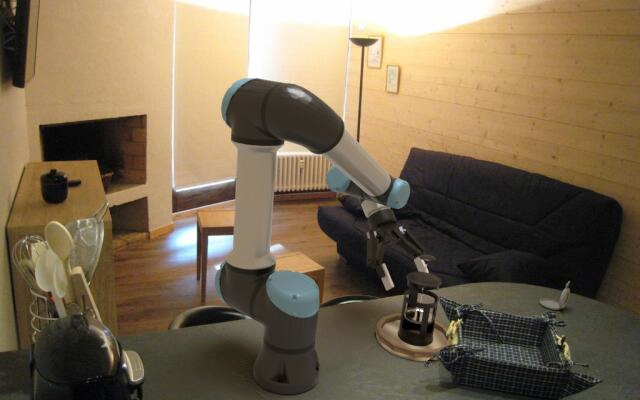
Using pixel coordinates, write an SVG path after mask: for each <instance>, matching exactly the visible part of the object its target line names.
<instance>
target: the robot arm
mask: <svg viewBox="0 0 640 400" xmlns="http://www.w3.org/2000/svg"><path fill="white" fill-rule="evenodd" d="M220 105H221V106H220V112H221V118H222V120H223V121H224V122H225V125H226V126H227V127H229V129H230V130H231V131H230V142H231V143H232V144H233V146H235V148H236V149H237V152H236V153H237V155H236V175H235V177H236V179H235V195H234V196H235V197H234V220H233V239H232V249H231V251H230V252H229V253H227V254H226V256H225V260H223V261H222V262H221V264H220V265H219V267H220V268H219V269H217V270H216V273H215V276H214V289H215V292H216V295H217V297H218V298H219V299H220V300H221V301H222V302H223V303H224V304H225V305H226V306H228V307H230V309H232V310H234V311H237V312H240V313H241V314H243V315H245V316H247V317H248V318H249V319H252V320H254V321H255V322H258V324H260V325H261V324H262V326H263V339H262V340H263V341H262V344H261V346H260V348H259V351H258V354H257V356H256V358H255V359H254V362H253V378H254V380H255V382H256V383H257V384H258V385H259V386H261V387H262V388H263V389H265V390H267V391H270V392H272V393H276V394H280V395H296V394H301V393H305V392H308V391H309V390H311V389H313V388H314V387H315V386H316V385H317V384H318V383H319V380H320V375H321V365H320V364H321V363H320V361H319V358H318V352H317V350H316V346H315V345H316V335H317V326H318V320H319V319H318V316H319V308H320V289H319V286H318V283H316V281H315V280H314V279H312V277H310V276H308V275H307V274H305V273H303V272H299V271H292V270H291V269H290V270H289V269H282V270H276V266H277V257H276V256H275V255H274V254H273V253H272V252H271V245H272V243H271V242H272V241H271V240H272V230H273V229H272V227H273V213H274V212H273V211H274V197H275V186H276V185H275V184H276V183H275V182H276V171H277V170H276V169H277V167H276V166H277V157H278V156H277V154H278V153H277V152H278V151H279V150H280V149H281V148H282V147H284V146H285V142H289V143H292V144H295V145H299V146H301V147H303V148H305V149H307V151H309V152H310V153H312V154H315V155H318V156H319V155H321V156H322V157H324V158H325V160H327V161H328V162H329V163H330V164H332V166H330V167H329V169H328V171H327V173H326V176H325V182H326V185H327V187H328V189H329V190H330V191H331V192H335V193H337V194H343V195H348V196H351V197H355V198H358V200H359V203H360V205H361V208H362V210H363V213H364V215H365V217H366V218H367V222H368V225H369V227H370V230H369V231H367V232H366V233H365V236H364V237H365V240H366V266H367V267H371V268H372V269H375V270H376V273H377V276H378V278H379V279H381V281H382V284H383V286H384V288H385V291H390V290H391V289H393V288H394V287H395V284H394V282H393V280H392V277H391V275H390V272H389V270H388V268H387V265H386V263H383V260H384V256H385V251H386V247H387V246H390V245H396V246H399V247H401V248H402V249H403V250H404V251H406V253H408V254H409V255H411V256H412V257H413V258H414V259H413V261H414V263H415V267H416V268H417V270H418V271H417V272H425V266H426V264H425V261H424V260H422V259H420V258H419V256H420V255H426V253H427V251H428V250H427V248H425V246H424V245H423V244H422V243H421V241H419V240H418V239H417V237H416V236H414V234H413V233H412V232H411V231H410V229H409V227H408V226H407V224H406V223H405V224H403V225H401V226H398V225H397V218H396V215H395V213H394V210H393V209H397V210H399V209H402V208H403V207H405V205H406V204H407V202H408V200H409V198H410V194H411V187H410V184H409V183H408V181H406V180H404V179H401V178H399V177H394V176H392V175H391V174H390V173H389V171H387V170H386V169H385V168H384V167H383V165H381V164H380V162H378V161H377V160H376V158H374V157H373V156H372V154H370V153H369V151H367V149H366V148H365V147H363V146H362V144H360V142H358V141H357V139H355V137H353V136H352V135H351V133H350V132H349V131H348V130H347V129H346V126H345V122H344V120H343V118H342V117H341V116H340V115H339V114H338V113H337V112H336V111H335V110H334V109H333V108H332V107H331V106H330V105H328V104H327V103H326V101H324V100H322V99H321V98H320V97H319V96H317V95H316V94H314V92H312V91H310V90H309V89H307V88H305V87H304V86H301V85H298V84H295V83H288V82H281V81H274V80H269V79H264V78H258V77H256V78H255V77H254V78H253V77H251V78H250V77H246V78H240V79H238V80H236V81H235V82H233V83H232V84H231V86H230V87H228V88H227V90H226V91H225V92H224V95H223V97H222V101H221V104H220ZM391 208H392V209H391ZM376 239H377V244H376ZM426 273H430V272H429V269H428V267H427V268H426Z"/></svg>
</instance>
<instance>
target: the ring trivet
mask: <svg viewBox="0 0 640 400" xmlns="http://www.w3.org/2000/svg"><path fill="white" fill-rule="evenodd" d="M401 314H402V312H395V313H392V314H388V315H385V316H382V317H381V318H380V320H379V321H378V322H377V323H376V324H375V338H376V340H377V342H378V343H379V345H380V346H381V347H382V348H383V349H385V350H386V351H388V352H389V353H391V354H392V355H394V356H397V357H399V358H403V359H406V360H410V361H415V362H416V361H417V362H429V361H428V360H429V359H430V358H432V357H433V355H435V354H438V352H439V351H440V350H441V349H442V348H444V347H446V346H449V345H450V341H451V338H450V336H446V332H447V330H448V329H449V327H447V326H445V325H444V324H443V323H440V322H439V321H438V320H436V319H435V323H434V332H433V342H432V343H431V344H430V345H427V346H414V345H410V344H407V343H405V342H403V341H402V340H401V339H400V338H399V337H398V330H399V325H400V321H401ZM407 331H409V332H412V333H416V334H420V331H419V330H416V329H407ZM434 360H435V361H439V360H438V359H437V358H436V357H435V358H434Z"/></svg>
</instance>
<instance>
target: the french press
mask: <svg viewBox="0 0 640 400" xmlns="http://www.w3.org/2000/svg"><path fill="white" fill-rule="evenodd" d="M419 258H420V259H422V260H424V261H425V264H426V266H425V272H419V271H411V272H409V273H407V274H406V280H407V283H406V285H407V286H408V288H409V289H408V288H407V289H406V290H405V291H404V293H403V301H402V306H401V307H402V308H401V313H402V314H401V321H400V325H399V330H398V337H399V338H400V339H401V340H402V341H403V342H405V343H407V344H410V345H414V346H427V345H430V344H431V343H432V342H433V332H434V323H435V320H436V316H437V309H438V306H439V301H440V297H439V296H438V295H437V294H436V293H435V292H433V291H430V290H428V289H425V288H434V289H435V290H436V291H439V290H440V286H441V285H442V282H443V281H442V279H441V278H440V277H439V276H438V275H435V274H433V273H430V272H429V273H426V268H427V269H428V265H429V262H435V261H436V259H437V258H436V257H435V256H433V255H431V254H424V255H420V256H419ZM419 294H420V299H419V302H418V298H419V297H418V296H419ZM407 295H408V297H407ZM423 295H426V296H429V297H431V298H433V299H434V302H432V303H422V301H423V300H422V299H423ZM431 309H432V312H431ZM407 329H416V330H419V331H420V334H416V333H412V332H409V331H407Z"/></svg>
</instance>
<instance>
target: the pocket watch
mask: <svg viewBox="0 0 640 400" xmlns="http://www.w3.org/2000/svg"><path fill="white" fill-rule="evenodd" d="M570 283H571V281H570V280H569V281H568V282H567V283H566V284H565V288H564V289H563V290H562V291H561V295H560V297H559V301H557V300H555V299H552V298H547V297H546V298H545V297H544V298H540V299H539V304H540V305H541V306H542V307H545V308H546V309H549V310H554V311H557V310H562V309H564V308H565V307H566V305H567V303H568V301H569V298H570V294H571V293H570V292H571V289H570V288H569V285H570Z"/></svg>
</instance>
